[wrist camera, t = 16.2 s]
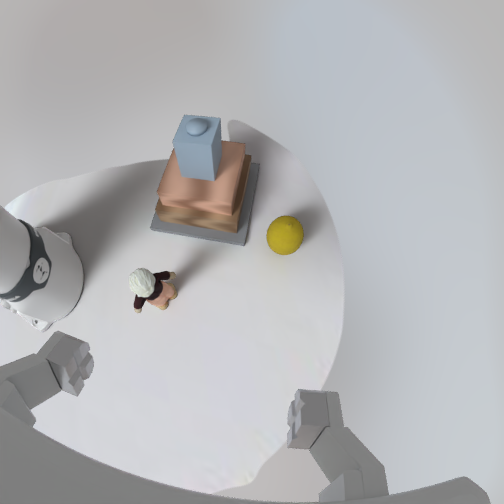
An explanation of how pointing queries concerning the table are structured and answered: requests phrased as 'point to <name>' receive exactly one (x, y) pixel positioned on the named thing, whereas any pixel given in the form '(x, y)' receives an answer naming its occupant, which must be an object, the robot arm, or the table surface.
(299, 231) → the lemon
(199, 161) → the blue knobbed block
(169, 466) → the table surface
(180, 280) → the table surface
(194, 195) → the terracotta brick
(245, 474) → the table surface
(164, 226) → the baseplate
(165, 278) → the grandmother figurine
